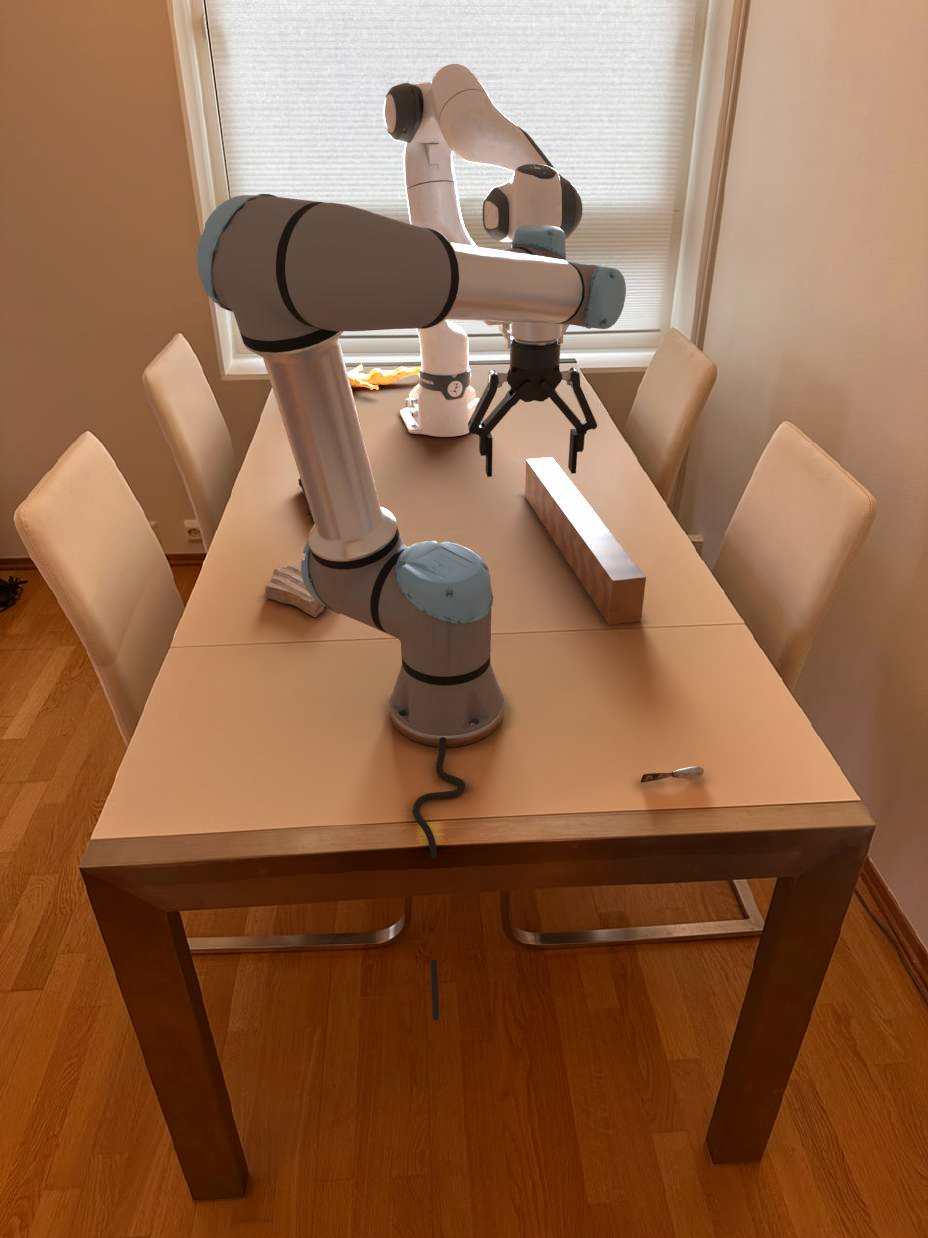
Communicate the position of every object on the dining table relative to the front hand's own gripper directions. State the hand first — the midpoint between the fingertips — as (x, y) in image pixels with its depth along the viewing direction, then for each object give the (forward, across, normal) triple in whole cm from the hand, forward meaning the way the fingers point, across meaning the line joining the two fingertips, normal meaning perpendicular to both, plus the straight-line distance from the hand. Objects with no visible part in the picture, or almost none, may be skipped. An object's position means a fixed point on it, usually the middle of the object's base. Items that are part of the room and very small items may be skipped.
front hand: (530, 472), depth 144 cm
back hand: (-12, -5, -32) cm, 35 cm away
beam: (+18, -10, -7) cm, 22 cm away
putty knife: (+19, -10, +54) cm, 58 cm away
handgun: (+18, +34, -33) cm, 51 cm away
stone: (+19, +38, +5) cm, 42 cm away
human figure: (+18, +24, -108) cm, 113 cm away
